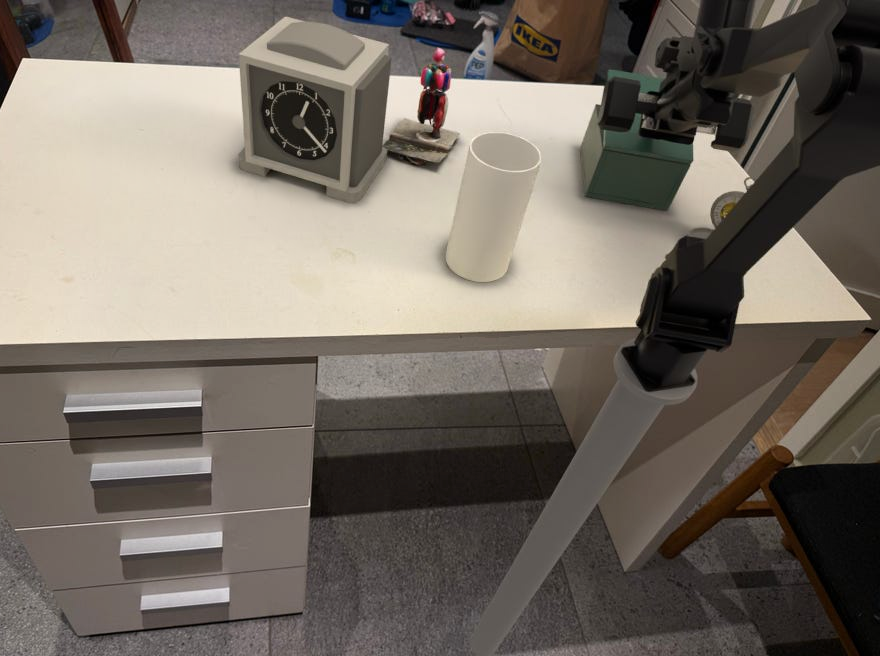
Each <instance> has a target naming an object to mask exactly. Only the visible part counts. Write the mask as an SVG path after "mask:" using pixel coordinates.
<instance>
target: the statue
mask: <svg viewBox="0 0 880 656" xmlns="http://www.w3.org/2000/svg"><path fill="white" fill-rule="evenodd" d="M445 55H446V52H445V50H444V49H442V48H441V47H436V48H435V51H434V53H433V56H432V58H433V61H434V63H431V64H428V65H426V66H425V67H424V68H423V69H422V71H421V76H420V85H421V86H422V87H423V89H422V91H421V92H420V96H419V101H418V107H417V115H416V117H417V120H418V121H416V120H411V119H409V118H403V120H401V122H400V123H399V124H398V126H397V127H395V129H394V130H393V131H392V132H391V133H390V134H389V137H388V140H386V141H385V142H384V143H383V144H382V147H384V148H385V149H386V150H387V153H390V152H391V153H392V154H394V155H395V156H396V157H397V158H398V159H400V160H402V159H404V157H406V158H407V159H408V160H409V161H410V163H413V164H416V165H417V166H421V165H426V164H427V161H428V162H434V163H438V164H439V163H441V161H442V160H443V159H444V158H445V157H447V155H448V154H449V150H452V149H453V146H454V143H455V142H457V141H458V137H459V136H460V135H461V134H460V132H458V131H453V130H450V129H446V128H442V127H444V125H445V121H446V117H447V114H448V109H449V98H448V95H447V93H446V92H448V91H449V90H450V88H451V82H452V69H451V68H449V66H448V65H444V64H443V63H442V62H444V60H445ZM426 121H429V124H427V123H425V122H426ZM403 156H404V157H403ZM429 166H431V164H429Z"/></svg>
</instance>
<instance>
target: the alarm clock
mask: <svg viewBox="0 0 880 656" xmlns="http://www.w3.org/2000/svg"><path fill="white" fill-rule="evenodd" d="M389 46H390V43H386V42H382V41H378V40H375V39H371V38H367V37H363V36H359V35H356V34H353V33H350V32H348V31H345V30H343V29H342V28H339V27H336V26H334V25H331V24H328V23H322V22H316V21H304V20H301V19H297V18H293V17H290V16H284V17H283V18H281V19H280V20H279V21H278V22H276V23H275V24H274V25H273V26H271V27H270V28H269V29H268V30H267V31H265V32H264V33H263V34H261V35H260V36H259V37H258V38H257V39H255V40H254V41H253V42H251V43H250V44H249V45H248V46H247V47H245V49H243V50H242V51H240V52H239V53H238V65H239V67H238V68H239V82H240V94H241V109H242V111H241V112H242V123H243V124H242V126H243V140H244V147H243V149H241V150H240V152H238V154H237V159H238V168H239V169H240V170H241V171H245V172H247V173H251V174H254V175H258V176H260V177H266V175H267V174H268V173H269V172H270V171H271V170H273V171H276V172H279V173H282V174H286V175H289V176H293V177H297V178H300V179H303V180H306V181H309V182H313V183H316V184H319V185H322V186H326V192H325V196H326V197H329V198H332V199H335V200H339V201H343V202H346V203H348V204H349V203H350V204H352V203H353V204H355V203H357V202H360V201H361V199H362V198H363V196H364V195H365V194H366V192H367V190H368V189H369V187H370V186H371V185H372V184H373V181H374V180H375V178H376V177H377V176H378V174H379V173H380V171H381V170H382V168H383V167H384V166H385V164H386V162H387V158H388V151H387V150H386V149H385V148H384V147H382V145H384V143H383V142H384V133H385V124H386V115H387V106H388V95H389V89H390V88H389V86H390V79H391V78H390V77H391V68H392V59H393V56H390V55H389Z"/></svg>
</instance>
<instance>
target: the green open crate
mask: <svg viewBox="0 0 880 656" xmlns="http://www.w3.org/2000/svg"><path fill="white" fill-rule="evenodd" d="M600 106H601V104H598V103H595V105H594V108H593V111H592V113H591V117H590V119H589V122H588V125H587V128H586V131H585V132H584V136H583V139H582V142H581V145H580V147H579V155H580V163H581V171H582V172H581V173H582V183H583V190H584V191H583V192H584V197H586V198H592V199H597V200H602V201H603V200H604V201H609V202H613V203H614V202H615V203H620V204H625V205H633V206H637V207H644V208H648V209H655V210H659V211H660V210H661V211H669V209H670V207H671V205H672V203H673V201H674V199H675V198H676V195H677V193H678V191H679V189H680V187H681V185H682V184H683V182H684V180H685V178H686V175H687V173H688V171H689V170H690V168H691V165H692V164H687V163H682V162H676V161H670V160H664V159H659V158H653V157H647V156H641V155H636V154H630V153H624V152H619V151H613V150H607V149H603V141H604V130H603V129H600V128H599V126H598V125H597V122H598V117H599V112H600Z"/></svg>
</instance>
